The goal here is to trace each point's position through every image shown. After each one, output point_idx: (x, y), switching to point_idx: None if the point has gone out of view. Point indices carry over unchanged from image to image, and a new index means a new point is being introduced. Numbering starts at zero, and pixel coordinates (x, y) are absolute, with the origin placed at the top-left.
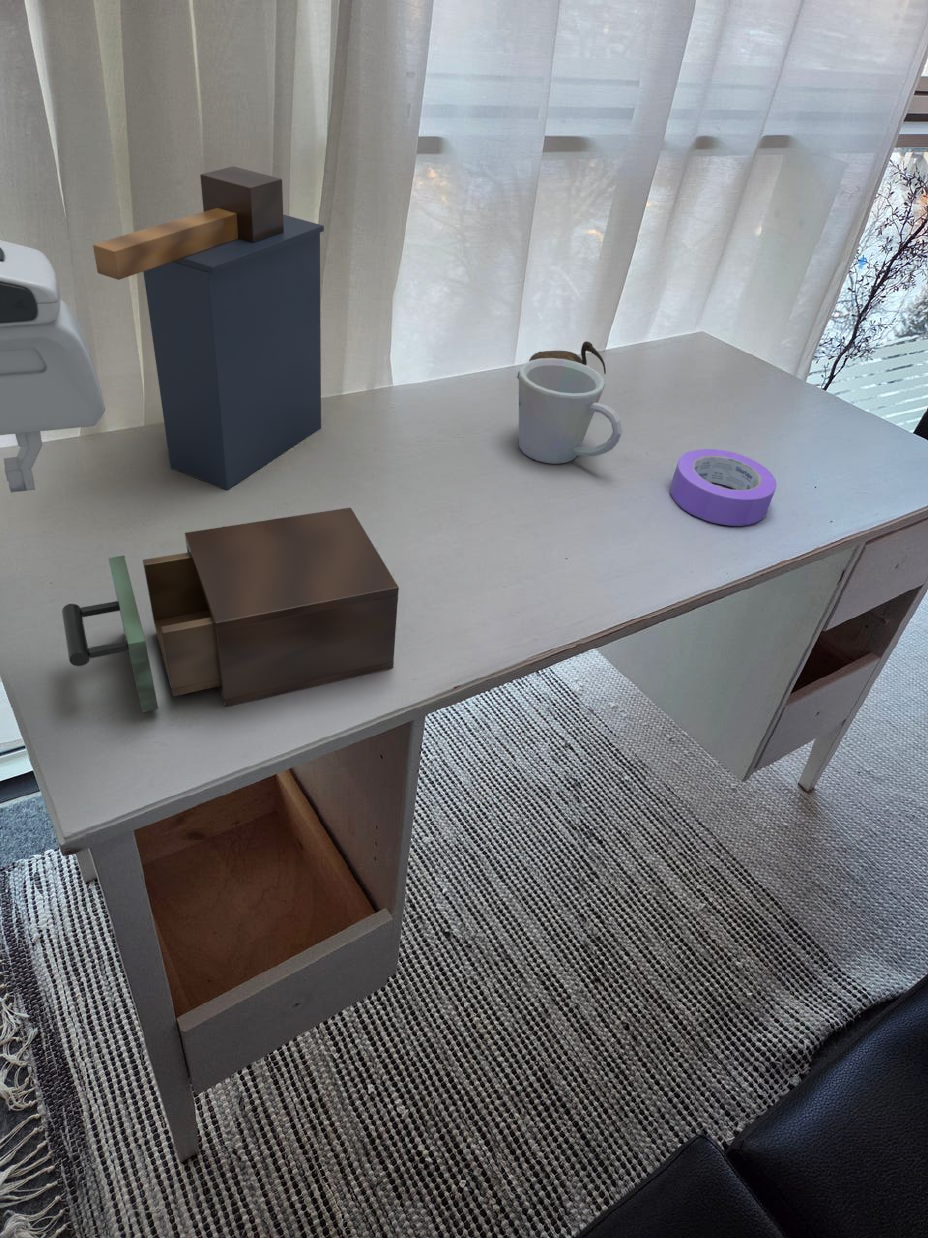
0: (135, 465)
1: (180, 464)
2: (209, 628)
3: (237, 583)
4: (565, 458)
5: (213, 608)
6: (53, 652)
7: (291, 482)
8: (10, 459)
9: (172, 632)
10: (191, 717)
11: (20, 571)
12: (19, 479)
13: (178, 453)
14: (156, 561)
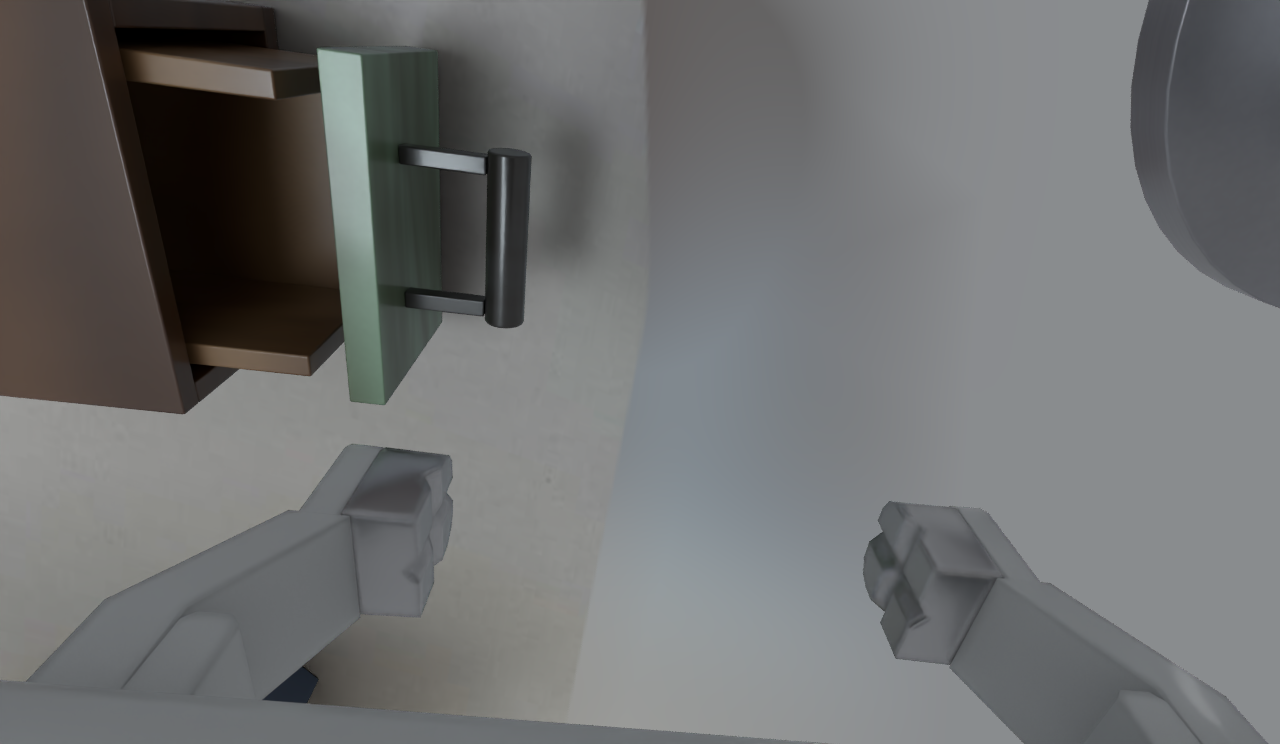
0: (376, 696)
1: (293, 678)
2: (151, 50)
3: (24, 154)
4: None
5: (93, 66)
6: (574, 314)
7: (96, 591)
8: (390, 602)
9: (247, 65)
10: (349, 12)
11: (590, 522)
12: (379, 483)
13: (283, 699)
14: (277, 357)
